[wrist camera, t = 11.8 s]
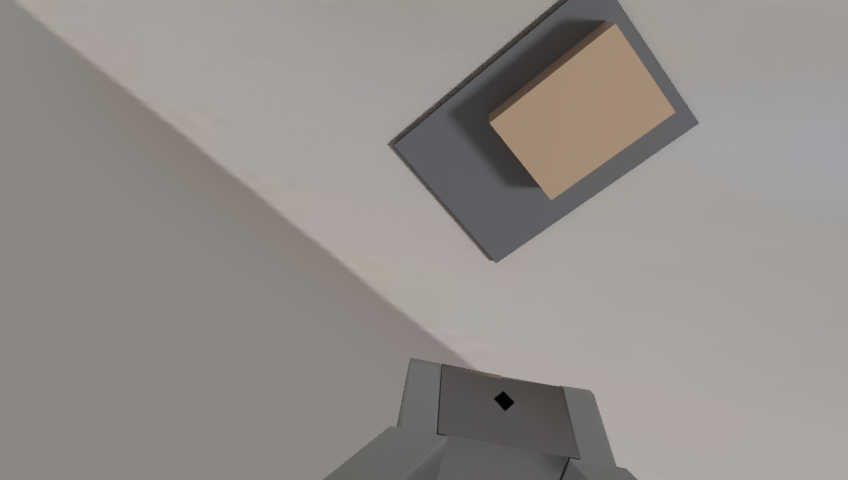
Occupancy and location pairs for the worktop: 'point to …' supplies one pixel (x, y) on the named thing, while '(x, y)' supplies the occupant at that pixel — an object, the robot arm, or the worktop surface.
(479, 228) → the mat
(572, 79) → the block
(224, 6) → the worktop surface
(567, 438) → the robot arm
